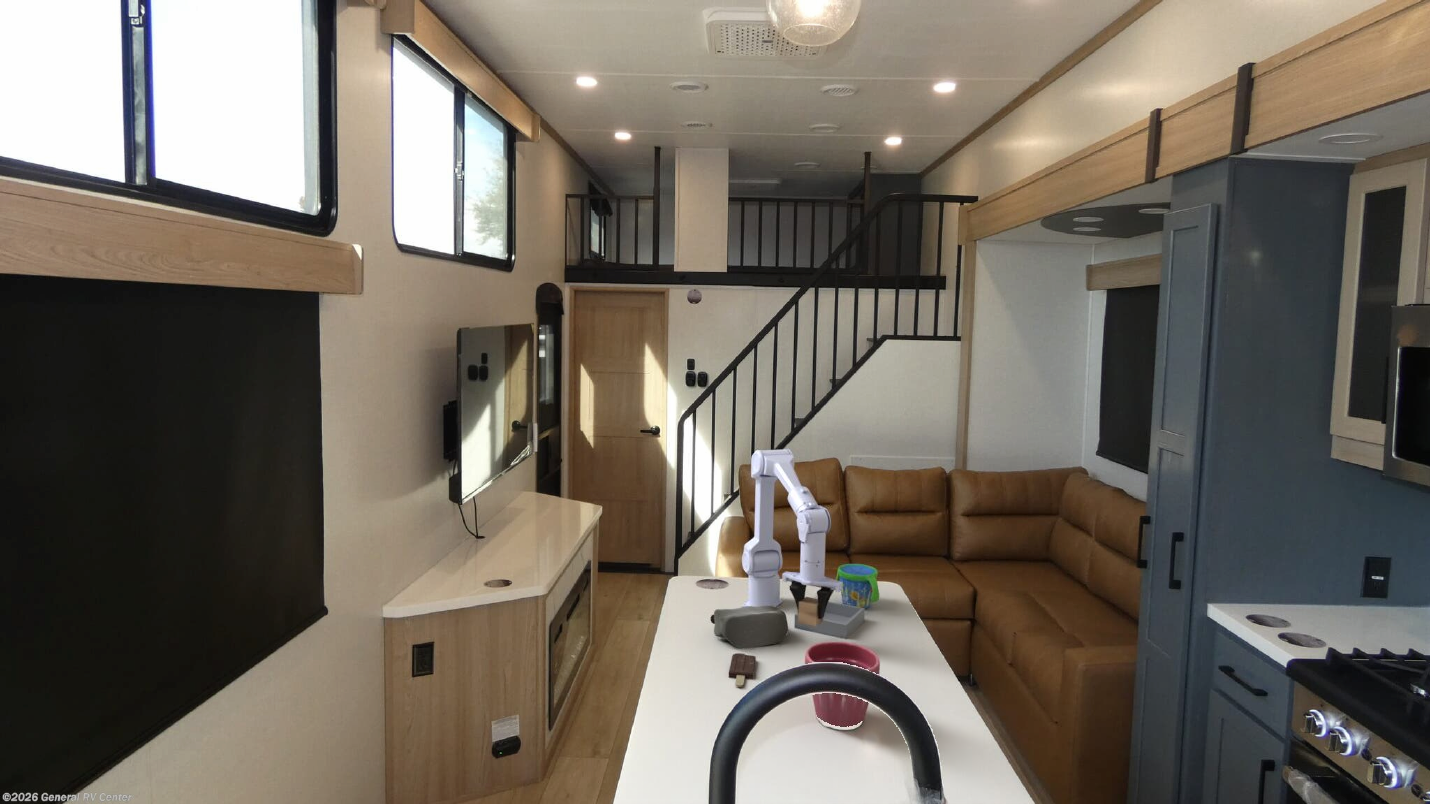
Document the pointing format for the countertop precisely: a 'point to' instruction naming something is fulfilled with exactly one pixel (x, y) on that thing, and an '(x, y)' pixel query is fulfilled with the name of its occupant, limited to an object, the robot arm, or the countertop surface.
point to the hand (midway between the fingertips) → (811, 615)
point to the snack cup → (858, 585)
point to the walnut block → (809, 612)
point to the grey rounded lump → (750, 625)
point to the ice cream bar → (742, 668)
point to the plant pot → (840, 706)
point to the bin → (836, 620)
